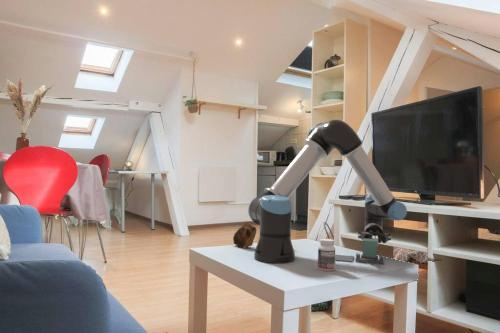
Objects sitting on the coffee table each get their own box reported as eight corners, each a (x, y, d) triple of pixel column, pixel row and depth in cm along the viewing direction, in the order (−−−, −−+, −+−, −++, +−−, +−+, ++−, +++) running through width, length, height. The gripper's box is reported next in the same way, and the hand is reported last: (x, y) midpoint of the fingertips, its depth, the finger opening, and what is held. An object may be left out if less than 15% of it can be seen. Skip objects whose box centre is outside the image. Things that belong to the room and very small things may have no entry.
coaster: (325, 259, 142) (325, 258, 142) (327, 254, 151) (327, 253, 151) (352, 262, 139) (352, 261, 139) (353, 257, 148) (353, 256, 148)
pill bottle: (319, 266, 131) (320, 237, 131) (336, 268, 128) (337, 239, 129) (316, 269, 125) (316, 240, 126) (333, 272, 123) (333, 241, 123)
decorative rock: (257, 248, 160) (258, 223, 160) (245, 249, 157) (246, 224, 157) (241, 244, 170) (242, 220, 170) (230, 245, 166) (231, 220, 167)
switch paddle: (361, 258, 141) (361, 241, 133) (361, 255, 142) (361, 237, 134) (378, 260, 139) (379, 242, 131) (378, 257, 140) (379, 239, 132)
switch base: (355, 262, 139) (355, 255, 139) (355, 259, 143) (355, 253, 143) (383, 264, 136) (384, 257, 136) (383, 262, 140) (383, 255, 140)
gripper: (390, 243, 156) (395, 254, 133) (357, 241, 160) (355, 250, 137) (391, 225, 156) (395, 232, 134) (357, 223, 160) (356, 230, 137)
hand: (375, 242), depth 135 cm, fingers closed, pressing on switch paddle
